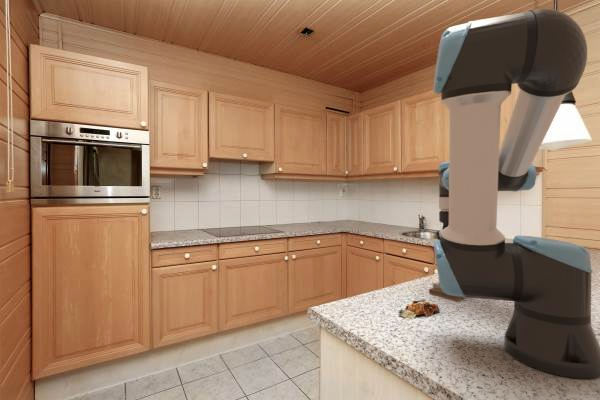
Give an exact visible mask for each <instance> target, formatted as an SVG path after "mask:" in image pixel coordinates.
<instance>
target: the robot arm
mask: <svg viewBox="0 0 600 400" xmlns="http://www.w3.org/2000/svg"><path fill="white" fill-rule="evenodd" d="M587 62H588V45H587V40H586V37H585V35H584V32H583V30H582V28H581V27H580V25H579V24H578V23H577V22H576V20H574V19H573V18H572V17H571V16H569V14H567V13H564V12H562V11H560V10H556V9H553V8H535V9H529V10H528V11H523V12H517V13H512V14H506V15H501V16H494V17H489V18H483V19H477V20H469V21H468V22H466V23H461V24H456V25H453V26H450V27H448V28H446V29H445V30H444V31H443V33H442V34H441V37H440V40H439V46H438V51H437V58H436V62H435V69H434V70H435V71H434V78H433V79H434V81H433V89H432V90H433V93H435V94H437V95H440V94H441V96H440V97H441V99H440V101H441V104H443V106H445V107H446V108H447V110H449V139H448V140H449V141H448V142H449V144H448V145H449V147H448V148H449V149H448V150H449V152H448V153H449V155H448V157H449V158H448V159H449V160H448V161H445V162H444V161H443V162H440V163H439V165H438V192H439V195H438V208H439V213H438V216H439V218H438V219H439V220H438V221H439V222H440V223H442V228H441V229H442V230H437V231H436V235H437V240H434V241H433V243H432V244H433V250H434V257H435V264H436V265H435V266H436V270H437V271H436V272H437V277H438V282H439V283H440V287H441V290H442V291H443V292H444V293H445V294H447V295H452V296H460V297H463V298H465V299H467V298H471V299H479V300H480V299H481V300H492V301H493V300H494V301H504V302H505V301H506V302H514V303H513V304H514V307H513V309H514V310H513V312H512V316H511V319H510V321H509V324H508V326H507V327H506V331H505V333H504V339H503V340H504V341H503V342H504V346H503V347H504V349H505V351H506V352H507V353H508V354H509V355H511V357H513V358H514V359H516V360H518V361H519V362H520V363H523V364H524V365H527V366H529V367H532V368H533V369H536V370H539V371H541V372H544V373H548V374H552V375H555V376H560V377H566V378H573V379H584V380H585V379H596V378H599V377H600V344H599V342H598V339H597V337H596V335H595V332H594V329H593V328H592V274H593V270H592V263H591V255H590V251H588V249H587V248H585V247H584V246H582V245H580V244H577V243H572V242H568V241H563V240H557V239H552V238H547V237H539V236H531V235H519V234H518V235H515V236H514V237H513V239H512V242H506V236H505V235H504V233H502V232H501V231H500V230H499V229H498V228H497V219H498V218H497V215H498V195H499V193H498V192H518V191H519V192H521V191H529V190H531V189H533V188H534V186H535V185H536V180H537V170H536V169H537V168H536V167H535V165H534V163H533V162H534V160H535V157H536V156H537V154H538V152H539V151H540V150H539V149H541V148H540V147H541V146H542V143H543V142H544V139H545V138H546V136H547V134H548V131H549V129H550V127H551V125H552V123H553V121H554V119H555V117H556V115H557V113H558V111H559V109H560V106H561V104H562V103H563V100H564V98H565V96H566V95H568V94H569V93H571V92H573V91H574V90H575V89H576V88H577V87H578V85H579V83H580V81H581V79H582V76H583V74H584V72H585V70H586V66H587ZM515 84H516V85H517V88H518V90H519V92H518V95H517V97H516V100H515V104H514V106H513V110H512V112H511V115H510V118H509V122H508V123H507V128H506V132H505V133H504V137H503V140H502V142H501V145H500V140H501V139H500V138H501V137H500V135H501V133H500V132H501V131H500V130H501V114H502V113H501V111H502V109H501V108H502V107H501V106H502V104H503V103H504V101H505V100H506V99H508V97H509V96H510V95H512V87H513V86H512V85H515ZM466 297H467V298H466Z"/></svg>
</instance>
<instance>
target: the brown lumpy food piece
mask: <svg viewBox="0 0 600 400" xmlns="http://www.w3.org/2000/svg"><path fill="white" fill-rule="evenodd" d="M435 311H437V312H440V307H439V306H438V305H437V304H436V303H431V302H430V301H429V300H427V299H426V298H423V299H418V300H416V299H415V300H413V301H412V303H410V304H407V305H406V306H405V309H402V308H401V309H399V310H398V315H399V316H398V317H403V318H404V319H405V320H407V319H406V318H409V319H408V320H413V319H412V318H414V319H415V317H416V316H419V315H420V316H421V315H424V316H425V318H426V317H427V318H430V317H433V316H434V312H435Z"/></svg>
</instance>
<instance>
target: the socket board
mask: <svg viewBox="0 0 600 400" xmlns="http://www.w3.org/2000/svg"><path fill="white" fill-rule="evenodd" d="M428 292H429V293H428V294H429V295H432V296H436V297H439V298H443V299H446V300H449V301H450V300H451V301H454V302H456V303H457V302H459V301H462V300H464V299H467V298H468V297H466V298H463V297H460V296H452V295H447V294H445V293H444V292H443V291H442V290H441V287H440V283H439V281H436V282H433V283H432V287H431V288H429V291H428Z"/></svg>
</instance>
